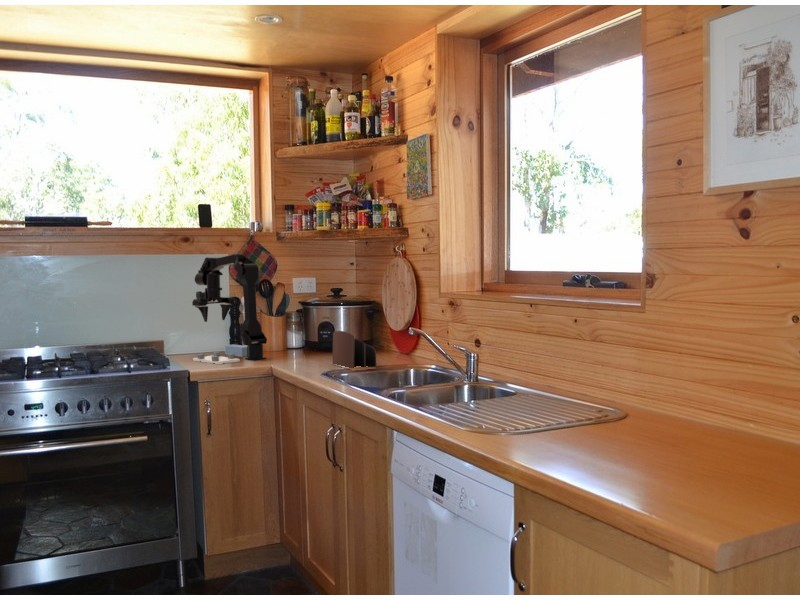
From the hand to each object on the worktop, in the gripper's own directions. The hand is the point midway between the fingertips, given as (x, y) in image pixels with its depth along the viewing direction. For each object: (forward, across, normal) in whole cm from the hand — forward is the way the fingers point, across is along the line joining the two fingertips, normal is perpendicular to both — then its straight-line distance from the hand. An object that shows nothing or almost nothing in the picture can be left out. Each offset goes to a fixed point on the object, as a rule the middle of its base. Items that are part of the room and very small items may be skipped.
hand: (214, 320), depth 318 cm
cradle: (+14, +13, +19) cm, 27 cm away
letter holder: (+15, -10, +76) cm, 78 cm away
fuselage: (+15, -3, +12) cm, 19 cm away
